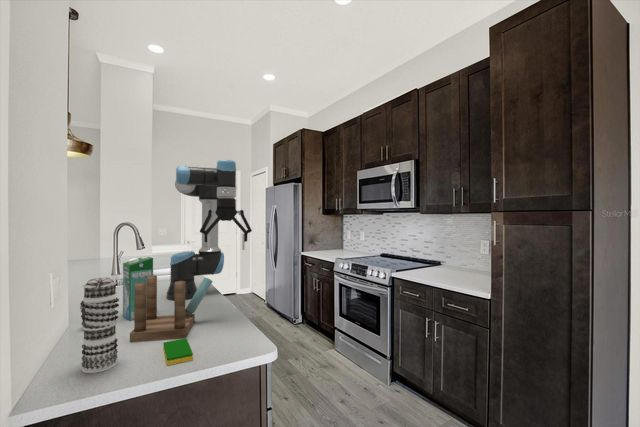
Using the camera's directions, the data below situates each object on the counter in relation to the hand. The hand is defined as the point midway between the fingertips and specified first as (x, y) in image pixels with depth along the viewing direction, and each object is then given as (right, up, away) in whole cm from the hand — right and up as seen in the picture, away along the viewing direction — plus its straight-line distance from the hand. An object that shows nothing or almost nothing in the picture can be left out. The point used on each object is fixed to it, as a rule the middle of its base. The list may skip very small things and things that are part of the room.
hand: (226, 250), depth 130 cm
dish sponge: (-7, -30, -30) cm, 43 cm away
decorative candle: (-25, -29, -38) cm, 54 cm away
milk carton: (-40, -29, +7) cm, 50 cm away
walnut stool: (-20, -29, -10) cm, 37 cm away
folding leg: (-14, -24, -2) cm, 28 cm away
